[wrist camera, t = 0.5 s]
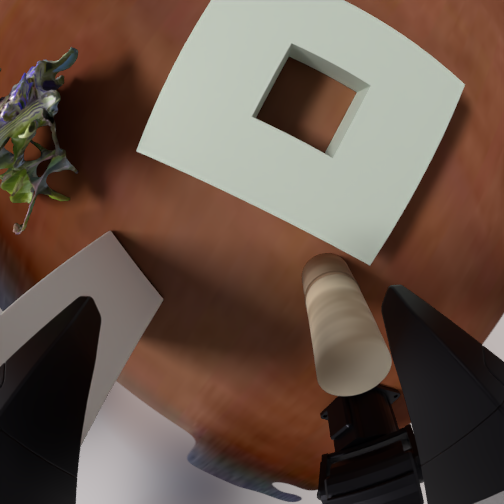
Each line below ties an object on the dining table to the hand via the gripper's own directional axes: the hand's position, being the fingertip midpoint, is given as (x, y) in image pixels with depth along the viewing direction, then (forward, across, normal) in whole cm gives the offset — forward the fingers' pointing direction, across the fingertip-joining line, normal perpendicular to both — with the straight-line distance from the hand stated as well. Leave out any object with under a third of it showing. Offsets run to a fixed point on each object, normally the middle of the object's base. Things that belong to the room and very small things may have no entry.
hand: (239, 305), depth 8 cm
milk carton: (+12, +11, +9) cm, 19 cm away
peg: (+10, -6, +8) cm, 14 cm away
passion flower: (+16, +14, -3) cm, 22 cm away
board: (+13, -4, -4) cm, 15 cm away
